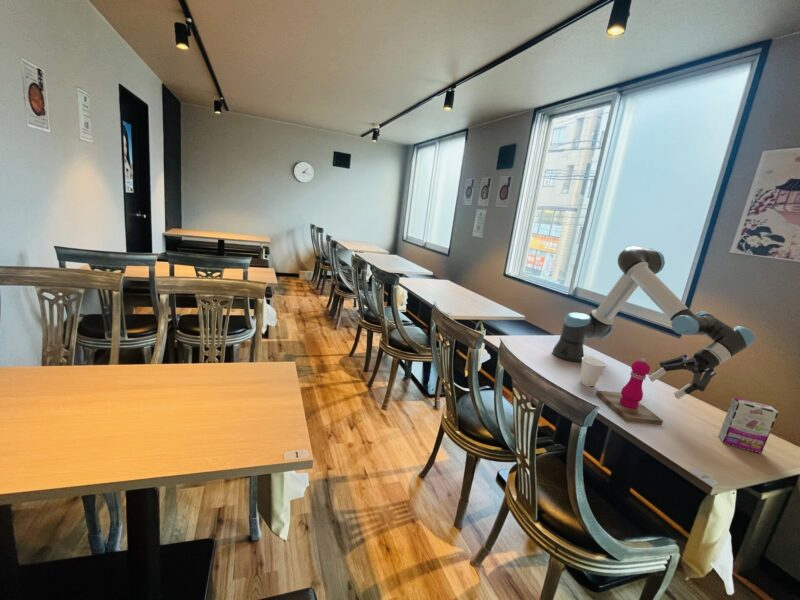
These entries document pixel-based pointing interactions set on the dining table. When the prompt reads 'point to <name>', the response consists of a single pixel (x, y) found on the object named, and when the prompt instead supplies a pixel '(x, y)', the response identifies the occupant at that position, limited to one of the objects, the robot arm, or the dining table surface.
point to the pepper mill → (635, 384)
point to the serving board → (629, 409)
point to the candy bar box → (747, 424)
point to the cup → (591, 370)
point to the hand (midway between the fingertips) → (662, 387)
